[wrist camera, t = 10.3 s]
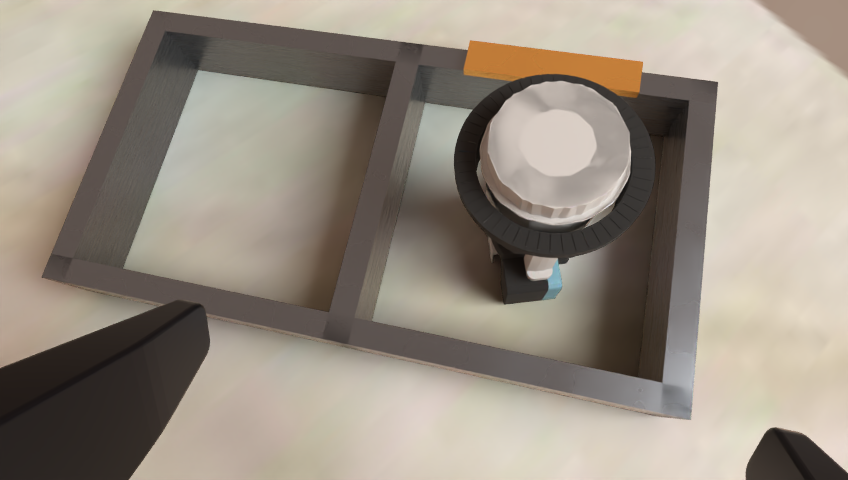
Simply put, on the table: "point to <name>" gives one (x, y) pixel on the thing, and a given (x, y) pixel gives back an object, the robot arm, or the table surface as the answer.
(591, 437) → the table surface
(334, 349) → the table surface
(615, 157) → the push button
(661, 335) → the grey divided tray
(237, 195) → the table surface
